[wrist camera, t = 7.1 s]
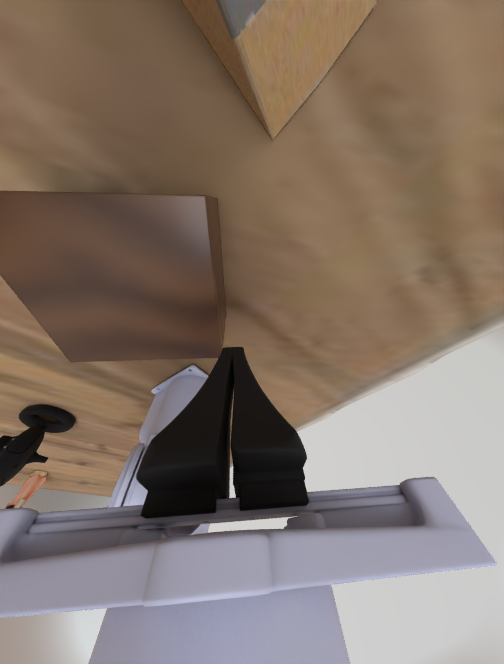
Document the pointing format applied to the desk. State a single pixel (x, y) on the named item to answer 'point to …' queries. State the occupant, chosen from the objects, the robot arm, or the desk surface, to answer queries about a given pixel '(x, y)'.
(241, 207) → the desk surface
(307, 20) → the sandwich container
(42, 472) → the grandmother figurine
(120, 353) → the lid
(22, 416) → the webcam
